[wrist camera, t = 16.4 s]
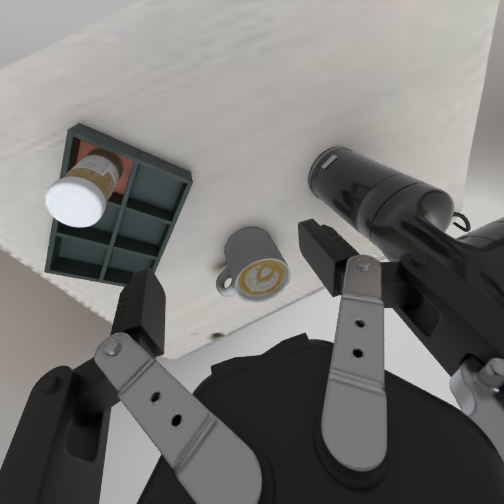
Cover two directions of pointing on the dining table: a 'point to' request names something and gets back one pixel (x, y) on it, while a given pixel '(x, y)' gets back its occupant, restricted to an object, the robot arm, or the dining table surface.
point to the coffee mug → (253, 267)
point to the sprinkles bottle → (85, 189)
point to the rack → (119, 214)
